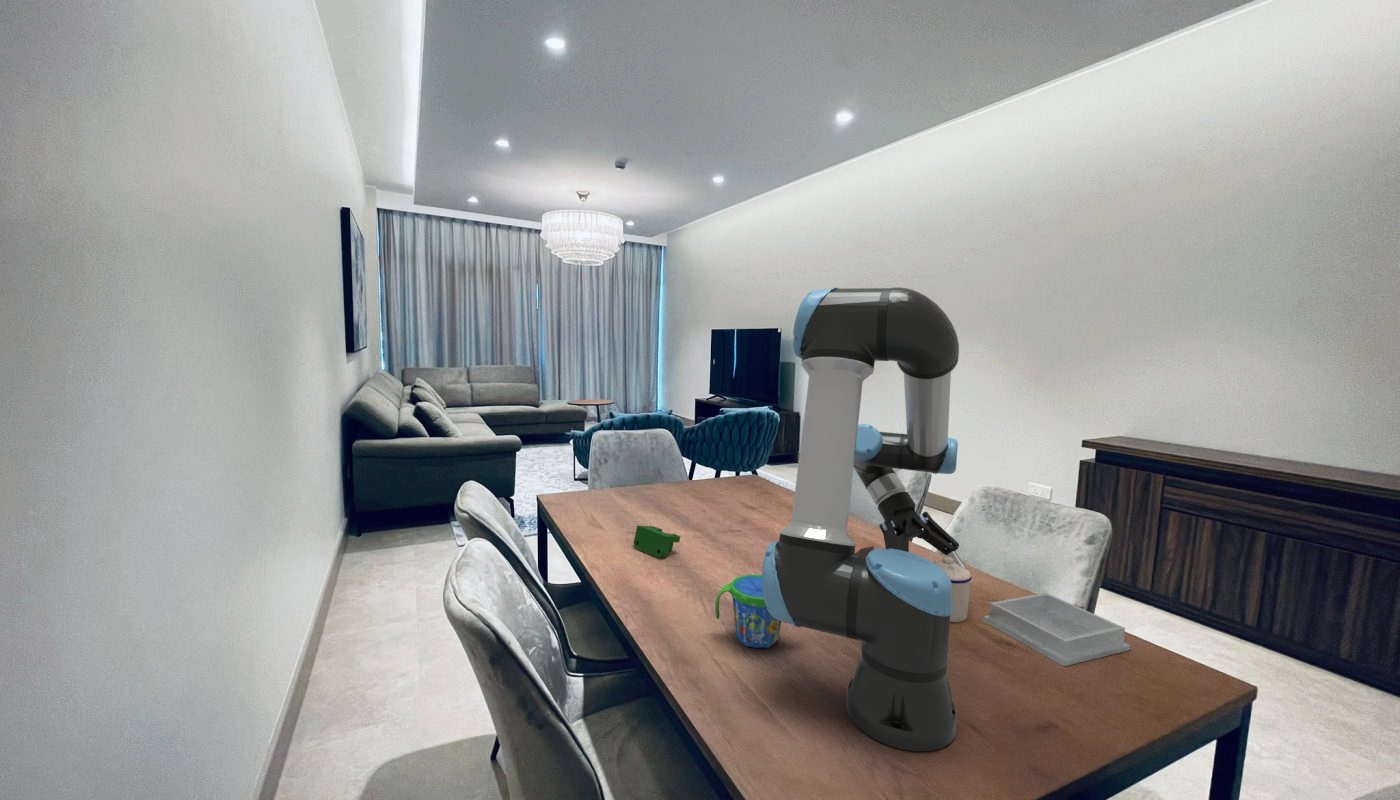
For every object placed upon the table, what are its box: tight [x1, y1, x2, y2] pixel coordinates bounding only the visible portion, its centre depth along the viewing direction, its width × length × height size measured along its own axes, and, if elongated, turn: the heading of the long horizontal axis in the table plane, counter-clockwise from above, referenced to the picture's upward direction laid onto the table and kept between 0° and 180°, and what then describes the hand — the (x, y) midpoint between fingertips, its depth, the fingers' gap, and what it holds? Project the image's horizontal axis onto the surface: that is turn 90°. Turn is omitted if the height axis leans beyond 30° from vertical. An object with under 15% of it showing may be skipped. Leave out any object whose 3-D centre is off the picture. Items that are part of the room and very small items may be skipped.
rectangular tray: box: [982, 592, 1131, 667], centre depth 108 cm, size 17×17×4 cm
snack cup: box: [714, 574, 782, 649], centre depth 103 cm, size 16×10×10 cm
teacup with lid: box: [932, 556, 973, 623], centre depth 117 cm, size 12×9×12 cm
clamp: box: [633, 525, 681, 559], centre depth 146 cm, size 12×6×9 cm, turn 39°
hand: (946, 589), depth 115 cm, fingers open, 13 cm apart
